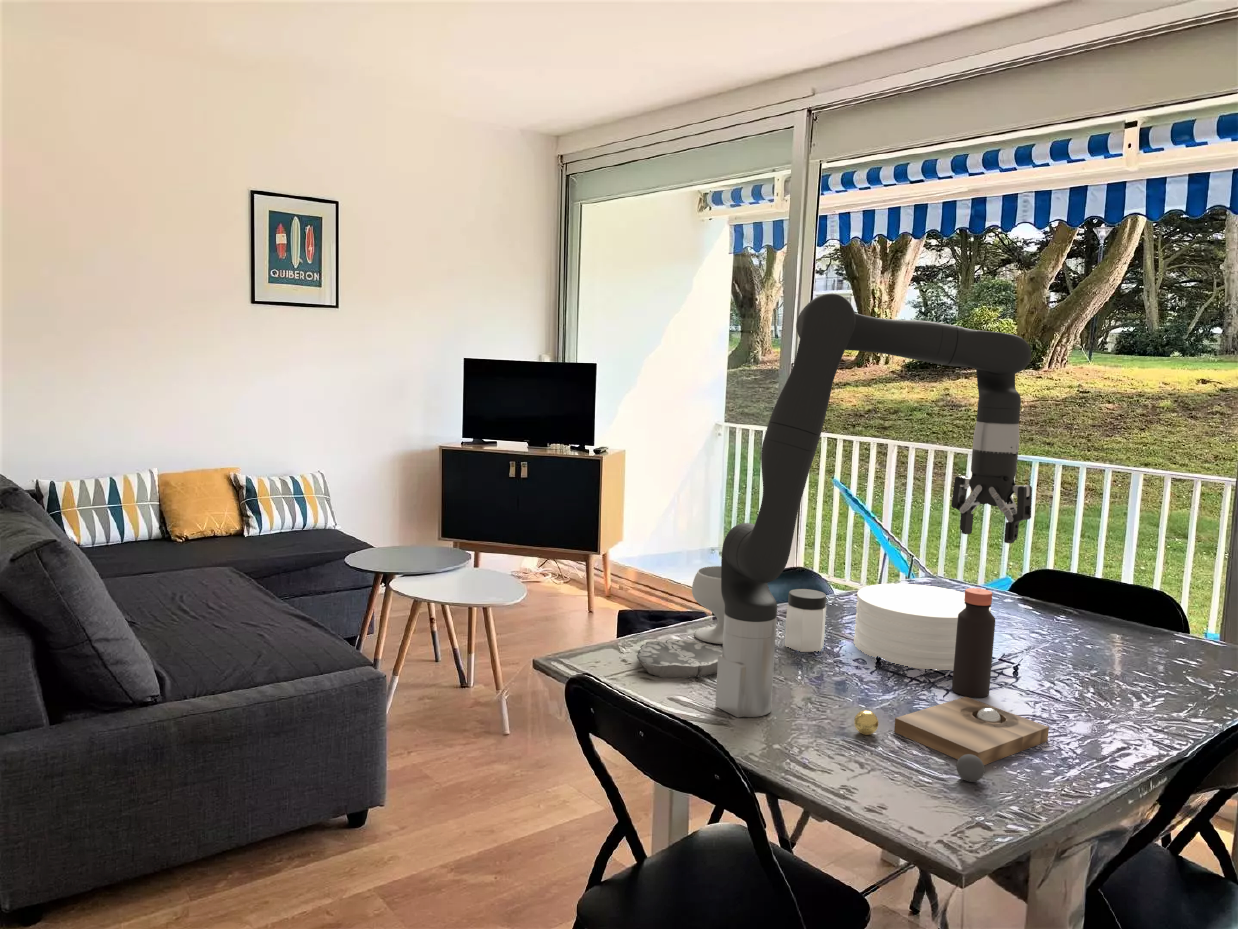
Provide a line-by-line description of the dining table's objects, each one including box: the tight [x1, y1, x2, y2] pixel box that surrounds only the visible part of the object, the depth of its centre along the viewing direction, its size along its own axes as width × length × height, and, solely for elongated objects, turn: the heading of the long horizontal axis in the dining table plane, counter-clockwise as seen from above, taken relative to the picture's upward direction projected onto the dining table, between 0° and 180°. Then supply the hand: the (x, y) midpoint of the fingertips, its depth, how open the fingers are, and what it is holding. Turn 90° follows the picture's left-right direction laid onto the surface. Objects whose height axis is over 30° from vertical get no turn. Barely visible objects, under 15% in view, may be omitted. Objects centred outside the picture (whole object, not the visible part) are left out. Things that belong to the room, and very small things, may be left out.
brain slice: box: [636, 638, 723, 679], centre depth 188 cm, size 20×17×3 cm
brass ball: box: [853, 709, 879, 736], centre depth 157 cm, size 4×4×4 cm
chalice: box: [691, 565, 725, 645], centre depth 207 cm, size 14×14×15 cm
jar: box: [784, 588, 827, 653], centre depth 203 cm, size 9×8×12 cm
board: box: [893, 696, 1050, 766], centre depth 157 cm, size 20×16×2 cm
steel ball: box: [976, 708, 1001, 723], centre depth 160 cm, size 4×4×4 cm
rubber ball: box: [956, 754, 985, 783], centre depth 140 cm, size 4×4×4 cm
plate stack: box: [853, 583, 992, 671], centre depth 204 cm, size 28×28×12 cm
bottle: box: [951, 587, 996, 699], centre depth 178 cm, size 7×7×20 cm
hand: (987, 538), depth 165 cm, fingers open, 8 cm apart
